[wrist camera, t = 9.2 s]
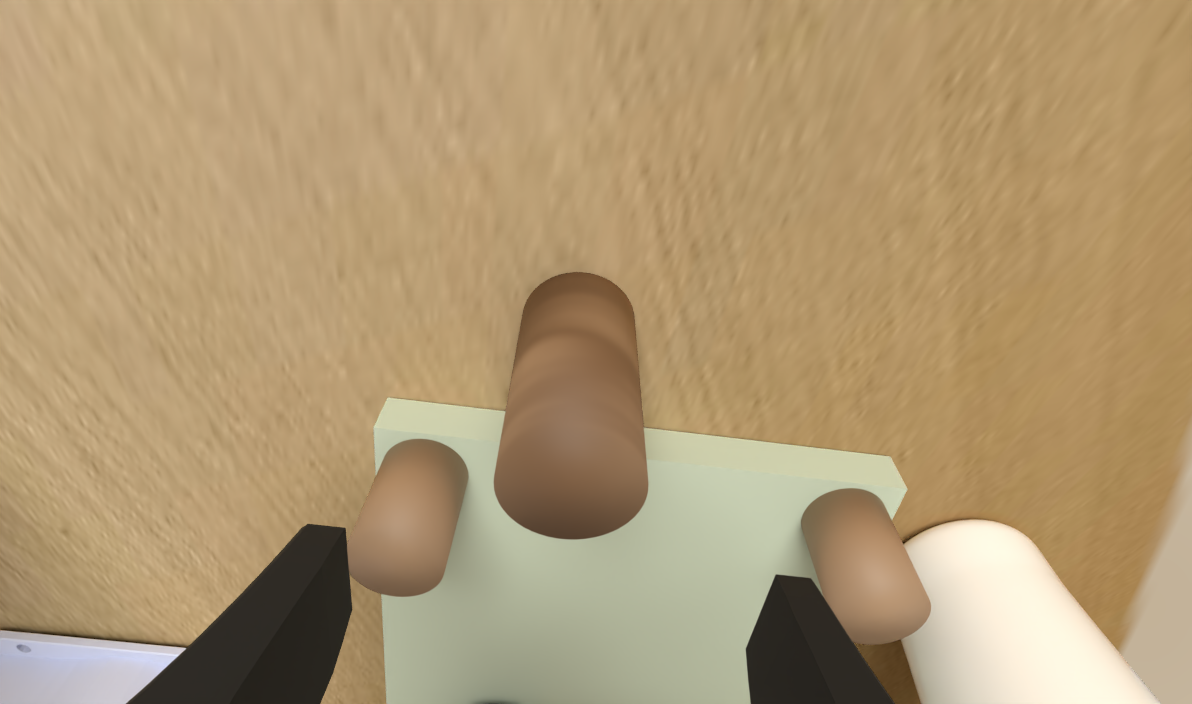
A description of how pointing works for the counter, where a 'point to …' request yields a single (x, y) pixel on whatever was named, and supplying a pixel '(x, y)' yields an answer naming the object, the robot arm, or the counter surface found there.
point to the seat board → (615, 566)
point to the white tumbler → (1006, 626)
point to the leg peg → (574, 413)
